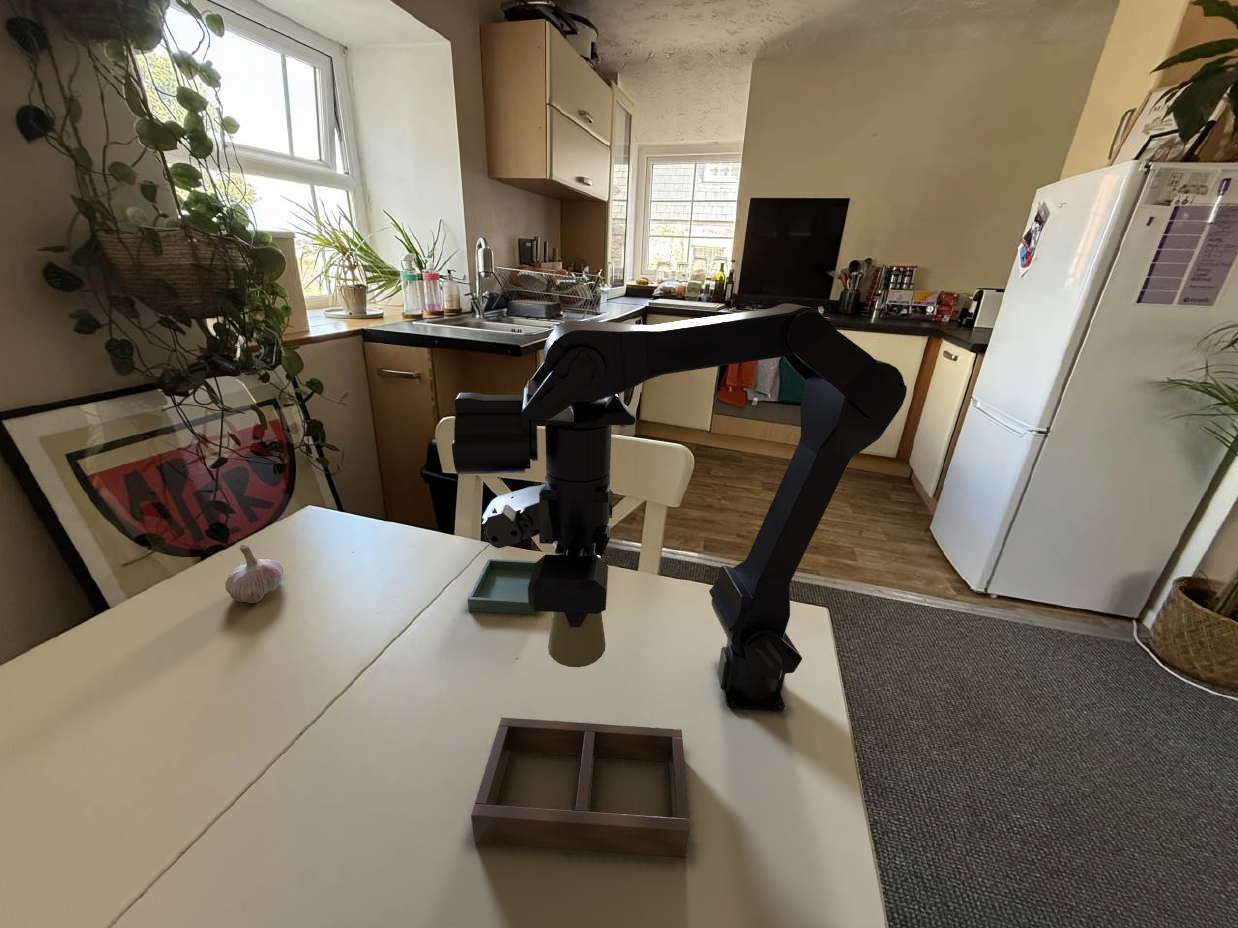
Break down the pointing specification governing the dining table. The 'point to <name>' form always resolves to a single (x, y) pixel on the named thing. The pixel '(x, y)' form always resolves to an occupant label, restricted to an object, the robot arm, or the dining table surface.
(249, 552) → the garlic bulb
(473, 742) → the dining table surface
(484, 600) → the tray
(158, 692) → the dining table surface
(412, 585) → the dining table surface
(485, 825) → the divided wooden box
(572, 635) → the tan pawn
